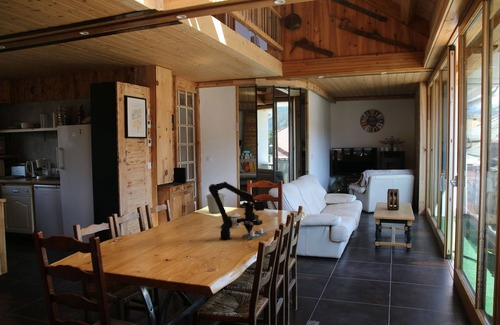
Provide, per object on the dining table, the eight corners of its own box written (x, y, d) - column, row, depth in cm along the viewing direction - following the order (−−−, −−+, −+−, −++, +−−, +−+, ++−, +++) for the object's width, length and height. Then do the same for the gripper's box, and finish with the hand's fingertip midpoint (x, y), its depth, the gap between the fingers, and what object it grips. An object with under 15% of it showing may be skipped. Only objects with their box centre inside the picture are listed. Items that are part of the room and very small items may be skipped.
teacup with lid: (228, 228, 298) (228, 213, 297) (230, 225, 307) (230, 211, 306) (243, 228, 296) (243, 213, 296) (245, 225, 305) (245, 211, 305)
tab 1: (252, 237, 262) (252, 232, 262) (249, 236, 264) (249, 231, 264) (255, 236, 265) (255, 231, 264) (251, 235, 266) (251, 230, 266)
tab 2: (261, 234, 270) (261, 229, 270) (258, 233, 272) (257, 228, 272) (263, 233, 273) (263, 228, 272) (260, 232, 274) (260, 228, 274)
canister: (218, 210, 380) (217, 189, 379) (229, 212, 366) (228, 190, 365) (202, 212, 368) (202, 190, 367) (213, 215, 354) (212, 192, 353)
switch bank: (251, 239, 260) (251, 237, 260) (241, 238, 265) (241, 235, 265) (267, 234, 274) (267, 231, 274) (257, 233, 279) (257, 230, 279)
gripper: (266, 210, 266) (267, 233, 266) (245, 208, 277) (246, 229, 278) (257, 213, 257) (257, 236, 258) (235, 210, 268) (236, 233, 269)
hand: (249, 233), depth 266 cm, fingers closed
